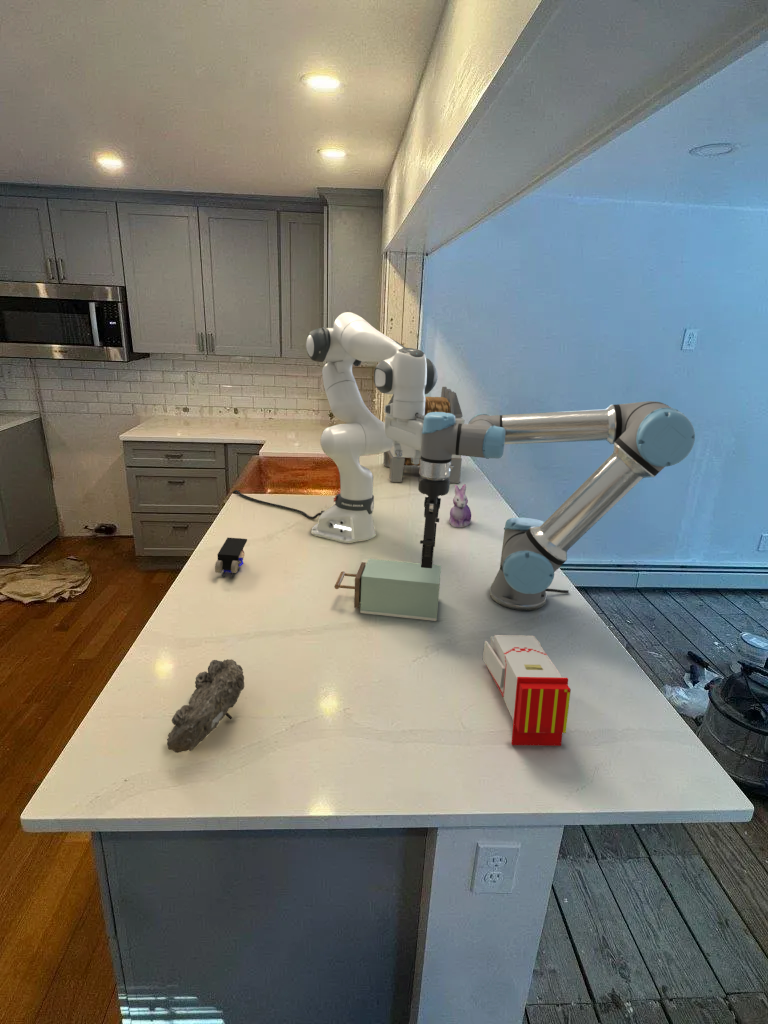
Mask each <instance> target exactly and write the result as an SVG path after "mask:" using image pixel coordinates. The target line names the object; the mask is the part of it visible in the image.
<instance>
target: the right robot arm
mask: <svg viewBox="0 0 768 1024" xmlns="http://www.w3.org/2000/svg"><path fill="white" fill-rule="evenodd" d="M695 432H696V431H695V428H694V425H693V423H692V422H691V420H690V419H689V418H688V417H687V416H686V415H685V414H684V413H683V412H681V411H679V410H678V409H676V408H673V407H671V406H669V405H668V404H666V403H664V402H661V401H656V400H655V401H654V400H653V401H652V400H647V401H646V400H645V401H638V402H630V403H629V402H628V403H618V404H617V403H616V404H610V405H609V406H608V407H607V408H604V409H603V408H602V409H587V410H586V409H585V410H569V411H568V410H567V411H552V412H551V411H548V412H532V413H531V412H529V413H511V414H494V415H490V414H487V413H478V414H476V415H474V416H473V417H472V418H470V420H469V421H468V422H467V423H464V424H460V423H456V420H455V416H454V415H453V414H451V413H445V412H430V413H428V414H426V415H425V417H424V422H423V431H422V443H421V458H420V466H419V471H418V474H419V477H418V491H419V493H421V494H423V495H426V496H424V501H423V507H424V511H423V518H424V527H423V538H422V540H420V541H419V544H420V545H421V544H422V547H421V558H420V559H421V560H420V563H421V567H422V568H432V564H433V560H434V551H435V550H434V549H435V547H436V536H437V525H438V524H437V523H440V518H439V513H440V512H439V511H440V509H441V502H442V498H440V496H442V497H443V496H446V495H448V493H449V492H450V484H451V483H450V479H449V478H448V477H449V476H450V469H452V468H453V467H454V466H453V465H450V464H451V461H452V455H461V457H473V458H482V459H487V460H489V459H501V458H503V455H504V451H505V445H524V444H548V443H549V444H550V443H551V444H553V443H574V442H575V443H576V442H598V441H599V442H600V441H601V442H602V441H606V442H607V443H608V444H610V445H613V451H612V453H611V455H609V456H608V457H607V458H606V459H605V460H604V461H603V463H601V464H600V465H599V467H598V468H596V469H595V470H594V471H593V473H591V475H590V476H589V477H587V478H586V479H585V481H584V482H583V483H582V484H580V486H579V487H578V488H577V489H575V490H574V491H573V493H571V495H570V496H569V497H568V498H567V499H565V501H564V502H563V503H561V505H559V507H558V508H557V509H556V510H555V511H554V512H553V513H552V514H551V515H550V516H549V517H548V518H547V519H546V520H545V521H544V520H540V519H536V518H531V517H522V516H521V517H511V518H508V519H507V520H506V521H505V525H504V528H503V532H504V533H503V539H502V547H501V555H500V561H499V562H500V563H499V569H498V571H497V573H496V575H495V577H494V579H493V581H492V583H491V586H490V589H489V595H490V598H491V599H492V600H493V601H494V602H495V603H496V604H498V605H500V606H503V607H504V608H508V609H511V610H516V611H534V610H538V609H541V608H542V607H544V606H545V604H546V602H547V592H550V593H560V594H569V590H567V589H566V590H565V589H556V588H549V587H550V586H551V585H552V583H553V580H554V578H555V572H556V571H558V569H559V568H561V567H562V566H563V565H564V563H565V562H567V561H568V551H569V550H570V548H572V547H573V546H574V545H575V544H577V542H578V541H579V540H580V539H581V538H583V536H585V534H587V533H588V532H589V531H590V529H592V528H593V527H594V526H595V525H596V524H597V523H598V522H599V521H600V520H601V519H602V518H603V517H604V516H605V515H606V514H607V513H608V512H609V511H611V509H612V508H614V507H615V506H616V505H617V504H618V503H619V502H620V501H621V500H622V499H623V498H624V497H625V496H626V495H627V494H628V493H629V492H630V491H631V490H632V489H633V488H634V487H635V486H637V484H639V483H640V482H641V481H642V480H643V479H646V478H655V477H656V476H657V475H659V473H661V471H662V470H664V468H666V467H671V466H675V465H676V464H680V463H681V462H683V460H685V459H686V458H687V457H688V456H689V454H690V453H691V452H692V450H693V448H694V445H695V440H696V433H695Z"/></svg>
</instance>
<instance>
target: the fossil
mask: <svg viewBox="0 0 768 1024" xmlns="http://www.w3.org/2000/svg"><path fill="white" fill-rule="evenodd" d="M243 670H244V669H243V667H242V665H240V664H237V662H236V661H235V660H234V659H232V658H231V659H227V658H226V659H224V660H223V661H222V660H217V659H212V660H211V661H210V663H209V665H208V666H207V671H201V672H199V673H198V674H197V675H196V676H195V680H194V684H195V685H194V687H195V689H194V690H193V693H192V694H191V697H190V698H189V700H188V704H184V705H182V706H181V707H180V709H177V710H176V711H175V713H174V715H173V716H172V718H171V723H172V724H173V727H172V730H171V731H170V732H168V734H167V738H166V741H167V742H166V745H167V749H168V750H169V751H173V752H174V753H176V754H178V753H182V752H188V751H189V752H192V751H193V750H195V748H196V747H197V746H199V744H200V743H201V742H203V741H204V740H205V739H206V738H207V737H208V736H209V735H210V734H211V733H212V732H214V730H215V729H217V727H218V726H219V724H220V722H221V721H222V720H223V719H224V718H225V716H226V717H227V719H229V720H233V717H232V715H230V714H229V710H230V709H231V708H234V706H235V704H236V703H237V702H238V699H239V697H240V695H241V693H242V691H243V690H245V689H244V688H245V675H244V671H243Z"/></svg>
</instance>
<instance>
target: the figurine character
mask: <svg viewBox="0 0 768 1024" xmlns="http://www.w3.org/2000/svg"><path fill="white" fill-rule="evenodd" d="M247 542H248V538H240V537H226V539H225V541H224V543H223V544H222V546H221V547H220V549H219V551H218V552H217V560H216V562H215V564H214V572H215V573H221V577H222V578H224V577H225V576H226V574H227V573H230V574H231V573H232V574H231V578H234V577H235V575H236V573H237V572H239V571H240V567H242V566H243V565H244V564H245V562H244V558H245V551H244V547H245V546H246V544H247Z"/></svg>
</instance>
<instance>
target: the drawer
mask: <svg viewBox="0 0 768 1024" xmlns="http://www.w3.org/2000/svg"><path fill="white" fill-rule="evenodd" d="M366 564H367V561H366V562H365V561H364V562H363V561H361V562H360V565H359V568H358V570H357V572H356V573H347V572H345V571H340V573H339V575H338V577H337V580H336V581H335V584H334V589H335V590H339V589H347V590H354V596H353V597H354V598H353V599H354V601H353V602H354V603H353V608H355V609H359V608H360V607H361V580H362V574H363V572H364V569H365V566H366ZM345 577H351V578H352V577H353V578H354V585H345V584H342V582H343V580H344V578H345Z"/></svg>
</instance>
